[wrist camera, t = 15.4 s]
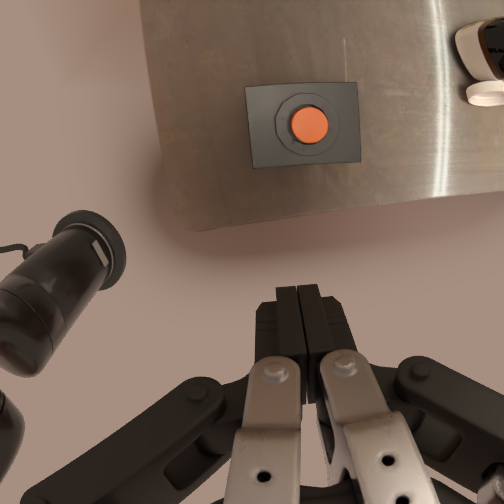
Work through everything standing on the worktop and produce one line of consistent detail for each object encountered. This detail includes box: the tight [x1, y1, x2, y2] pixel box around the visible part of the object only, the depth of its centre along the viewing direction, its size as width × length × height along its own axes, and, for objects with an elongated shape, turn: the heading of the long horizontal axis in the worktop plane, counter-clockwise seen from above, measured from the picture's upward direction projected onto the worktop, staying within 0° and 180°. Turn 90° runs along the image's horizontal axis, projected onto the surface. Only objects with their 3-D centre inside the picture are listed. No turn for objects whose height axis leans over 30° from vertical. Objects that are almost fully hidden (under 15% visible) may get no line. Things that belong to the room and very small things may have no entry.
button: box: [290, 107, 328, 143], centre depth 30 cm, size 4×4×2 cm
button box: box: [245, 82, 361, 169], centre depth 32 cm, size 12×9×4 cm
